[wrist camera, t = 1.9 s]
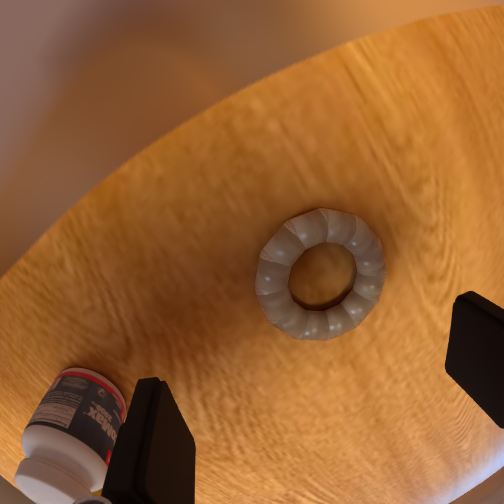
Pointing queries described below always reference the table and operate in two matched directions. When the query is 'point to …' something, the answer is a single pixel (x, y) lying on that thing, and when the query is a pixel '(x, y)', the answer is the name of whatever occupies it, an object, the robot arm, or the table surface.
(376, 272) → the ring
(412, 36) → the table surface
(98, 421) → the pill bottle
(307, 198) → the table surface
